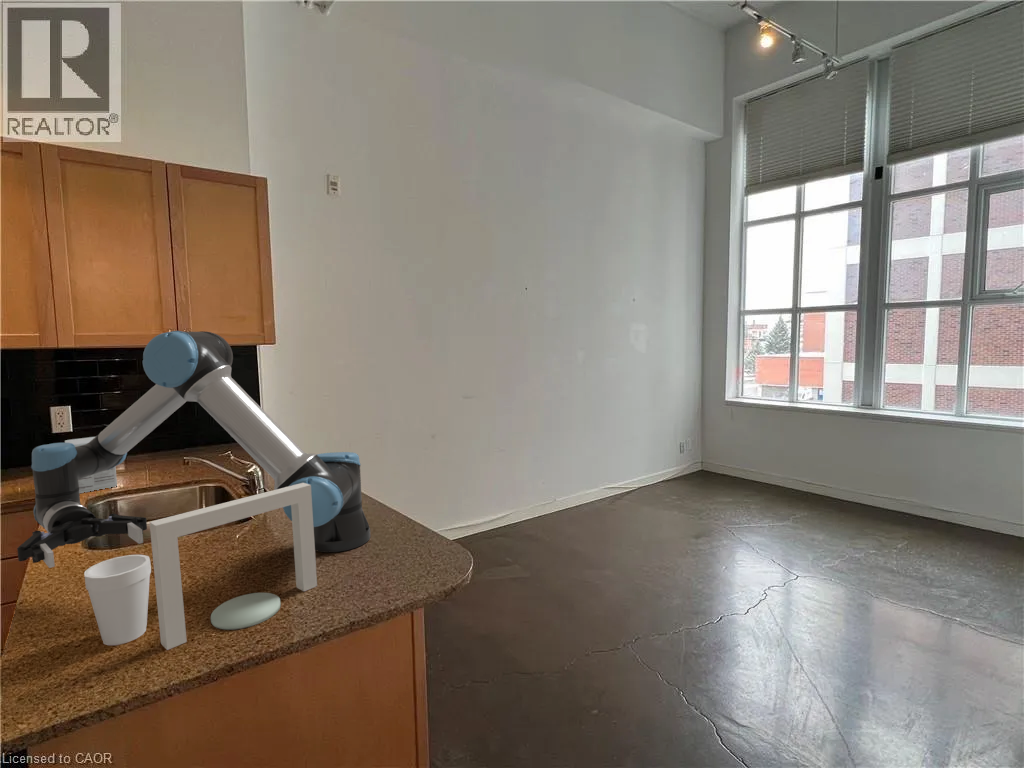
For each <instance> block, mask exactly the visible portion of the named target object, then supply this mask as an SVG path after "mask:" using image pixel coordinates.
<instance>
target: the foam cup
mask: <svg viewBox="0 0 1024 768" xmlns="http://www.w3.org/2000/svg"><path fill="white" fill-rule="evenodd" d="M151 566H152V565H151V558H150V556H149V555H144V554H128V555H127V554H126V555H122V556H115V557H112V558H110V559H109V558H108V559H106V560H103V561H101V562H98V563H96V564H94V565H92V566H90V567H88V568H87V569H86V570H85V571H84V573H83V574H84V583H85V589H86V591H88V595H89V598H90V599H89V600H90V602H91V605H92V609H93V613H94V616H95V617H94V618H95V620H96V622H97V626H98V631H99V633H100V638H101V640H102V641H103V642H102V643H103V645H107V646H119V645H123V644H127V643H129V642H131V641H134V640H137V639H138V638H140V637H141V636H143V635H144V634H145V632H146V631H147V626H148V625H147V624H148V609H149V608H148V607H149V593H150V580H151V579H150V577H151V576H150V575H151V573H152V567H151Z"/></svg>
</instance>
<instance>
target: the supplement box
mask: <svg viewBox="0 0 1024 768" xmlns="http://www.w3.org/2000/svg"><path fill="white" fill-rule="evenodd" d="M95 437H96V436H89V437H82V438H72V439H67V440H64V443H72V444H74V445H75V447H78V446H81V445H85V444H87V443H89V442H90V441H91V440H93V439H94V438H95ZM116 467H117V466H115V467H113V468H112V469H108V470H104V471H101V472H98V473H96V474H93V475H90V476H87V477H84V478H81V479H78V482H79V494H83V493H84V492H85V493H90V491H91V492H95V491H94V490H97V491H100V490H99V489H103V490H106V489H105V488H109V489H112V488H111V487H115V486H117V487H118V480H117V469H116ZM115 488H116V487H115Z"/></svg>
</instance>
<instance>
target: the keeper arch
mask: <svg viewBox="0 0 1024 768" xmlns="http://www.w3.org/2000/svg"><path fill="white" fill-rule="evenodd" d="M289 505H291V512H292V521H291V522H292V523H291V524H292V540H293V556H294V568H295V569H294V571H295V583H296V585H295V586H296V588H297V589H299V590H301V591H302V592H306V591H308V590H311V589H313V588H315V587H318V578H317V562H316V560H317V559H316V551H315V543H314V526H313V510H312V494H311V485H309V484H306V483H300V484H296V485H292V486H288V487H284V488H280V489H276V490H274V489H273V490H269V491H266V492H265V491H264V492H262V493H257V494H254V495H249V496H246V497H242V498H237V499H234V500H233V499H232V500H230V501H227V502H222V503H219V504H214V505H210V506H207V507H202V508H199V509H195V510H190V511H187V512H183V513H180V514H179V513H178V514H175V515H171V516H167V517H163V518H160V519H159V518H158V519H155V520H152V521H149V530H150V543H151V551H152V552H151V554H152V564H153V573H154V582H155V583H154V585H155V594H156V606H157V607H156V608H157V614H158V615H157V616H158V617H157V618H158V625H159V626H158V627H159V638H160V644H161V645H162V647H163V648H164V649H166V651H169V650H171V649H173V648H176V647H178V646H181V645H182V644H183V645H184V644H186V643H187V642H188V640H187V639H188V638H187V630H186V628H187V627H186V619H185V608H184V594H183V586H182V573H181V564H180V561H181V560H180V551H179V540H178V538H181V537H183V536H186V535H191V534H194V533H196V532H201V531H205V530H208V529H211V528H214V527H215V528H216V527H218V526H222V525H225V524H230V523H233V522H235V521H236V522H237V521H240V520H243V519H247V518H250V517H254V516H257V515H260V514H261V515H262V514H264V513H267V512H271V511H274V510H278V509H283V507H286V506H289ZM280 609H281V598H280V597H279V596H278V595H276V594H274V593H271V592H252V593H247V594H243V595H239V596H236V597H233V598H231V599H229V600H226V601H224V602H223V603H221V604H220V605H218V606H217V607H216V608H215V609H214V610H213V611H212V613H211V614H210V623H211V624H212V626H213V627H215V628H216V629H218V630H219V629H220V630H225V631H226V630H227V631H230V630H232V631H233V630H240V629H246V628H250V627H252V626H257V625H258V624H261V623H264V622H266V621H267V620H269V619H270V618H272V617H274V615H276V614H277V613H278V611H280Z"/></svg>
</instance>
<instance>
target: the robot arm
mask: <svg viewBox="0 0 1024 768" xmlns="http://www.w3.org/2000/svg"><path fill="white" fill-rule="evenodd" d="M142 359H143V360H142V367H143V371H144V372H145V375H146V376H147V377H148V379H149V380H151V382H153V383H154V384H155V385H154V386H152V387H151V388H149V390H147V391H146V392H145V393H144V394H143V395H142V396H140V397H139V398H138V400H136V401H135V402H133V404H131V406H129V407H128V408H127V409H126V410H125V411H123V412H122V413H121V414H120V415H119V416H118V417H116V418H115V419H114V420H113V421H112V422H110V424H108V425H107V426H106V427H105V428H104V429H103V430H101V431H100V432H99V433H98V434H97V435H96V436H94V437H95V438H94V439H93V440H91V441H90V442H89V443H87V444H85V445H81V446H78V447H75V445H74V444H72V443H65V442H53V443H49V444H42V445H38V446H35V447H34V448H33V449H32V452H31V465H30V466H31V467H30V468H31V470H32V477H33V486H34V495H35V496H34V500H35V505H34V507H33V516H34V520H35V521H36V522H37V523H38V524H39V525H40V526H41V527H42V528H44V529H43V530H45V531H46V532H45V531H41V530H34V531H33V532H32V534H31V536H30V537H28V538H27V539H26V540H25V541H24V542H23V543H21V544H20V545H18V547H17V548H16V549H17V558H18V562H24V561H28V559H29V558H32V559H31V560H32V564H35V563H40V562H44V563H45V565H46V566H47V567H48V568H49V569H50V568H51V569H52V568H54V567H55V566H56V565H55V555H54V551H53V550H55V549H57V548H58V547H63V546H66V545H75V544H78V543H81V542H83V541H85V540H87V539H89V538H93V537H94V538H95V537H102V536H105V535H124V534H125V535H127V537H129V538H130V539H132V540H133V541H134V542H136V543H137V544H138V545H139V544H143V543H144V535H143V534H144V531H147V530H148V524H147V522H148V521H147V517H144V516H132V515H131V516H130V515H119V514H117V513H111V514H109V516H108V518H98V517H97V518H96V516H95V514H94V513H93V512H92V511H90V510H89V509H88V508H87V507H85V506H84V505H83V504H82V503H81V497H80V493H79V482H78V479H81V478H84V477H87V476H90V475H93V474H96V473H98V472H101V471H104V470H108V469H112V468H113V467H117V466H119V465H121V464H122V463H123V462H125V460H126V458H127V455H128V452H129V451H130V450H132V449H133V448H134V447H135V446H137V445H138V443H140V442H141V441H142V440H144V438H146V437H147V436H148V435H149V434H150V433H152V432H153V431H154V430H155V429H156V428H157V427H159V426H160V425H161V424H162V423H164V421H165V420H167V419H168V418H169V417H170V416H171V415H172V414H174V412H176V411H177V410H178V409H179V408H181V407H182V406H183V405H184V404H185V403H186V402H196V403H198V405H200V406H201V407H202V408H203V409H204V410H205V411H206V412H207V413H208V414H209V415H210V416H211V417H212V419H214V420H215V421H216V423H218V424H219V425H220V427H222V428H223V429H224V431H226V432H227V433H228V434H229V435H230V437H231V438H233V439H234V440H235V442H237V444H239V446H241V447H242V448H243V450H244V451H245V452H246V453H248V454H249V456H250V457H251V458H252V459H253V460H254V461H255V462H256V463H257V464H258V465H260V467H261V468H262V469H263V470H264V471H265V472H266V473H267V474H268V475H270V477H271V478H272V479H273V481H274V487H273V490H276V489H280V488H284V487H288V486H292V485H296V484H300V483H306V484H309V485H311V494H312V510H313V526H314V543H315V552H319V553H320V552H321V553H338V552H345V551H349V550H353V549H356V548H358V547H361V546H363V545H365V544H366V543H367V542H369V541H370V539H371V527H370V524H369V522H368V520H367V517H366V515H365V513H364V512H365V511H364V509H363V503H362V501H363V498H362V482H361V481H362V479H361V465H362V464H361V463H360V455H358V454H357V453H356V452H353V451H352V452H351V451H340V452H338V451H336V452H335V451H334V452H325V453H307V452H305V451H304V450H303V449H302V448H301V447H300V446H299V444H297V443H296V442H295V441H294V440H293V439H292V438H291V437H290V436H289V435H288V434H287V433H286V431H284V429H282V427H281V426H280V425H278V424H277V422H275V420H274V419H273V418H272V417H271V416H270V415H269V414H268V413H267V412H266V411H265V410H264V409H263V408H262V407H261V406H260V405H259V403H257V402H256V401H255V400H254V399H253V398H252V397H251V396H250V395H249V394H248V393H247V392H246V391H245V390H244V388H243V387H242V386H241V385H240V384H238V382H237V381H236V380H235V379H234V378H232V364H233V360H234V355H233V350H232V348H231V346H230V344H229V342H228V341H227V340H226V339H225V338H224V337H222V336H220V335H219V334H217V333H214V332H211V331H204V330H203V331H183V330H182V331H181V330H173V331H172V330H171V331H167V332H162V333H159V334H157V335H155V336H154V337H153V338H152V339H150V341H148V343H147V344H146V346H145V347H144V351H143V354H142ZM282 509H283V512H284V514H285V516H286V517H287V518H288V519H289V521H291V522H292V512H291V505H289V506H286V507H282Z"/></svg>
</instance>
